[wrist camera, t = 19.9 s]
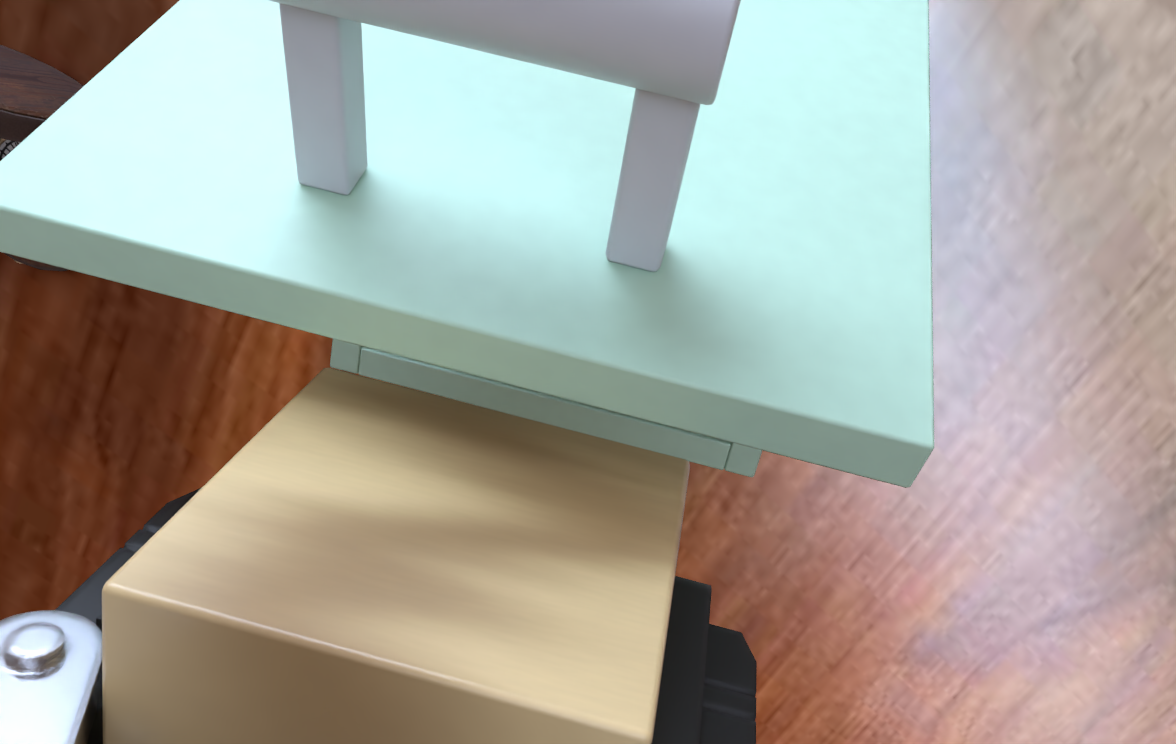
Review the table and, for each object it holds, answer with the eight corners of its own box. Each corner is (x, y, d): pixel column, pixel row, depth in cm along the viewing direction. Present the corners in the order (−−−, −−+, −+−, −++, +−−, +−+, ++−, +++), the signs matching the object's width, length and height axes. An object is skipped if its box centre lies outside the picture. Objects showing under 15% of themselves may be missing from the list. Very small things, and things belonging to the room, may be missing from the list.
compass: (-49, 216, 35) (-240, 281, 28) (-8, -4, 31) (-215, 11, 25) (161, 321, 35) (20, 410, 28) (223, 115, 32) (80, 161, 25)
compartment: (755, 375, 32) (753, 479, 26) (410, 287, 33) (328, 367, 27) (883, -40, 27) (918, -34, 21) (468, -134, 28) (383, -155, 21)
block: (691, 457, 13) (654, 738, 8) (611, 741, 15) (546, 1087, 11) (324, 364, 13) (97, 585, 9) (295, 654, 15) (100, 953, 11)
